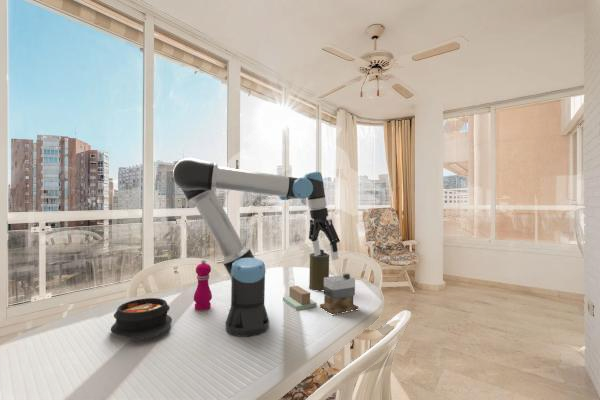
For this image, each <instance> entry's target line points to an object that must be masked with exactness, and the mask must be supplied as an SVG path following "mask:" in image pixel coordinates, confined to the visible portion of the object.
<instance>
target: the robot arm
mask: <svg viewBox="0 0 600 400" xmlns="http://www.w3.org/2000/svg"><path fill="white" fill-rule="evenodd" d="M303 176H304V177H294V176H293V177H292V176H286V175H281V174H273V173H266V172H265V173H264V172H258V171H252V170H244V169H238V168H232V167H225V166H224V167H223V166H219V165H218V164H217V162H211V161H205V160H201V159H197V158H193V157H187V158H183V159H181V160H179V161H178V162H177V163H176V164H175V166H174V168H173V171H172V178H173V181H174V183H175V184H176V186H178V187H179V188H180V189H181V190H182V192H183V194H184V196H185V197H186V199H187V201H188V202H190V203H193V204H194V205H195V207H196V209H197V210H198V212H199V214H200V216H201V218H202V219H203V221H204V224H205V226H206V227H207V229H208V230H209V233H210V234H211V236H212V237H213V239H214V241H215V243H216V245H217V247H218V248H219V250H220V253H221V254H222V256H223V261H222V264H223V266H224V268H225V269H226V271H227V273H228V275H229V277H230V281H231V289H230V290H231V293H230V294H231V296H230V297H231V298H230V308H229V312H228V315H227V317H226V320H225V331H226V332H227V333H228V334H230V335H232V336H237V337H252V336H257V335H261V334H264V333H265V332H267V330H268V329H269V327H270V319H269V316H268V312H267V309H266V305H265V292H266V291H265V289H266V288H265V287H266V286H265V285H266V273H267V272H266V265H265V262H264V261H262V259H258V258H255V256H254V254H253V252H252V251H251V249H250V247H248V246H244V244H243V242H242V240H241V238H240V237H239V235H238V233H237V231H236V230H235V227H234V225H233V223H232V222H231V219H230V218H229V216H228V214H227V212H226V211H225V209H224V206H223V205H222V203H221V201H220V200H219V198H218V196H217V194H216V190H217V189H220V190H229V191H237V192H244V193H253V194H261V195H269V196H277V197H279V199H280V200H281V201H289V200H293V199H294V200H295V199H297V200H298V199H300V200H304V199H307V202H308V207H309V214H310V218H311V219H309V233H308V239H309V240H310V241H311V242H312V248H313V253H314V254H315V256H317V255H321V254H320V249H321V248H320V241H319V238H318V237H319V235H320V232H323V233H324V234H325V236H326V238H327V239H328V241H329V242H330V243H329V249H330V254H331V260H332V261H335V260H338V259H339V258H340V257H339V253H338V251H339V250H338V244H337V243H339V242H340V241H341V240H340V238H339V235H338V233H337V231H336V228H335V227H334V224H333V220H332V219H328V216H329V210H328V208H327V206H328V205H327V204H328V203H327V199H326V192H325V186H324V178H323V175H322V173H321V171H320V172H319V171H313V172H306V173H304V174H303Z"/></svg>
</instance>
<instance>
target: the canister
mask: <svg viewBox="0 0 600 400" xmlns="http://www.w3.org/2000/svg"><path fill="white" fill-rule="evenodd" d="M320 254H321V255H317V256H315V254H314V252H313V253H310V254H309V281H308V283H309V284H308V288H310V289H309V290H311V289H312V290H311V291H313V290H318V291H317V292H322V291H321V290H324V277H330V254H328V253H327V252H325V250H324V249H321V248H320Z"/></svg>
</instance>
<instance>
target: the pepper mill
mask: <svg viewBox="0 0 600 400" xmlns="http://www.w3.org/2000/svg"><path fill="white" fill-rule="evenodd" d="M206 262H207V261H206V260H205V259H202V260H201V263H199V264H197V266H196V267H195V273H196V274H197V275H196V279H197V285H196V286H197V287H196V289H195V291H194V294H193V301H194V302H195V303H194V309H195V310H196V311H207V310H209V309H211V307H212V305H211V300H212V298H213V294H212V291H211V289H210V285H209V279H210V278H211V277H210V273H211V271H212V268H211V265H210V264H209V263H206Z"/></svg>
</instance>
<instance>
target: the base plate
mask: <svg viewBox="0 0 600 400" xmlns="http://www.w3.org/2000/svg"><path fill="white" fill-rule="evenodd" d="M324 295H326V296H328V297H330V298H332V299H336V298H342V297H348V296H353V297H354V296H355V295H356V286H355V287H352V288H345V289H338V290H331V289H329V288H327V287H325V286H324V291H323V296H324Z"/></svg>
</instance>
